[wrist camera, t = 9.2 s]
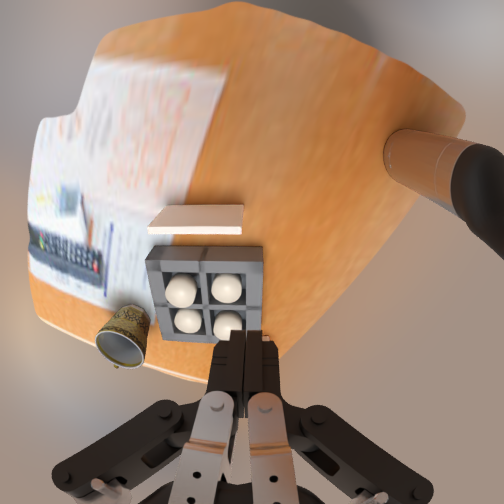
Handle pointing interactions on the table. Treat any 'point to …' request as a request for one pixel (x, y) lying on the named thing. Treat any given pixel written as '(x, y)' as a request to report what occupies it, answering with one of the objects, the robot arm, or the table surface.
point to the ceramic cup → (125, 337)
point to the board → (206, 286)
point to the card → (198, 220)
